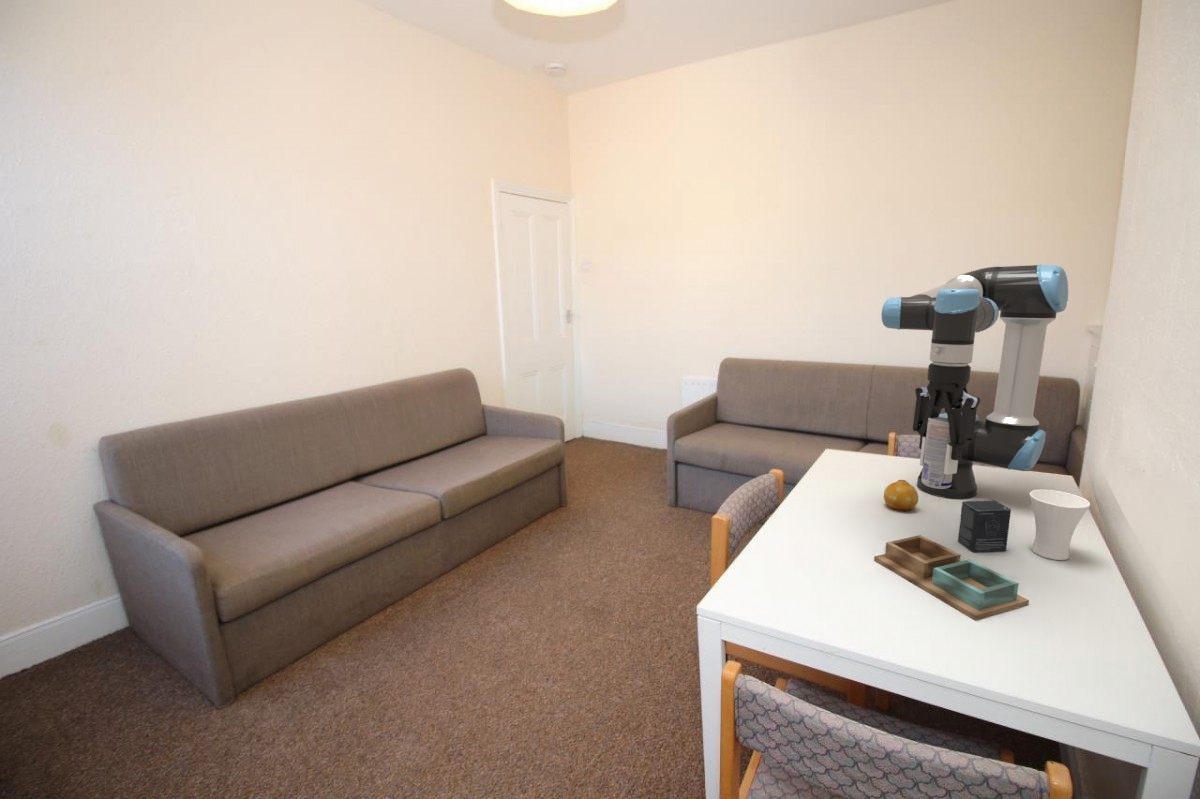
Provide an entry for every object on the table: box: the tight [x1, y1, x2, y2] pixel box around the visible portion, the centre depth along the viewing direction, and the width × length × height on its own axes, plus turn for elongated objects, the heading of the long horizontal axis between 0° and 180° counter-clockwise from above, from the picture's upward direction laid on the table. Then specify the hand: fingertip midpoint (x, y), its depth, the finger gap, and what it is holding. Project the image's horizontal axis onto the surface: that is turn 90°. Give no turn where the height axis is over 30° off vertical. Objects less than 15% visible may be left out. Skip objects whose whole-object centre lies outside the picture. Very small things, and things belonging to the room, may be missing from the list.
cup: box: [1028, 489, 1091, 561], centre depth 123 cm, size 10×10×14 cm
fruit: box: [883, 479, 919, 512], centre depth 150 cm, size 8×8×8 cm
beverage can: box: [921, 417, 952, 489], centre depth 118 cm, size 6×6×15 cm
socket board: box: [873, 534, 1030, 621], centre depth 114 cm, size 24×14×4 cm, turn 19°
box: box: [957, 499, 1012, 553], centre depth 127 cm, size 8×6×11 cm
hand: (937, 468), depth 119 cm, fingers closed on beverage can, 5 cm apart
